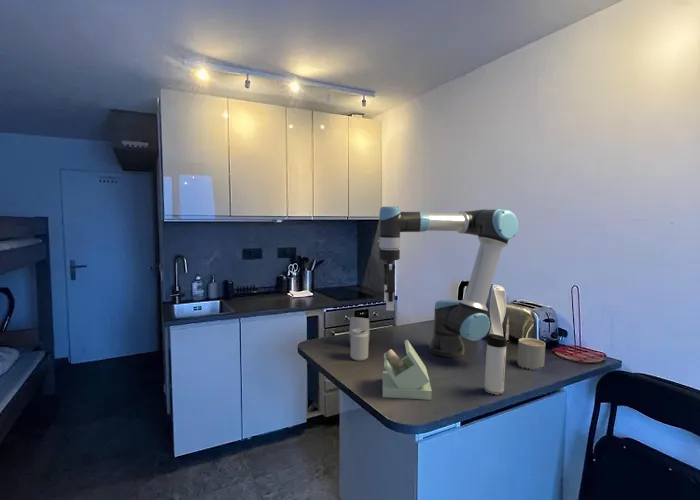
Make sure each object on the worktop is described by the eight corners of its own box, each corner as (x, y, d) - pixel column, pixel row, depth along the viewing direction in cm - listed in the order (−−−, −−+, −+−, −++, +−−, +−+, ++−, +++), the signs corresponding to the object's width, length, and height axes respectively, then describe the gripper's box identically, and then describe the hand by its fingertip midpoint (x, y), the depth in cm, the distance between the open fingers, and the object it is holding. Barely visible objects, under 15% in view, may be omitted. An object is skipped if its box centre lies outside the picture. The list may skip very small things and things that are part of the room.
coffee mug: (535, 372, 154) (536, 347, 153) (512, 364, 162) (513, 340, 161) (553, 365, 161) (555, 341, 160) (530, 358, 170) (532, 335, 169)
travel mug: (480, 387, 140) (483, 332, 138) (498, 387, 140) (501, 332, 138) (488, 395, 133) (491, 338, 131) (506, 395, 134) (510, 337, 132)
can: (366, 362, 161) (367, 333, 160) (348, 360, 162) (349, 332, 161) (369, 355, 168) (370, 328, 167) (352, 354, 170) (352, 326, 169)
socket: (426, 381, 143) (428, 339, 142) (431, 399, 130) (433, 353, 128) (382, 379, 145) (383, 337, 143) (382, 397, 131) (383, 351, 129)
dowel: (415, 373, 138) (391, 348, 138) (415, 376, 135) (391, 350, 135) (408, 378, 138) (384, 353, 139) (408, 382, 135) (384, 357, 135)
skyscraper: (497, 345, 186) (500, 286, 184) (483, 340, 193) (487, 283, 191) (509, 342, 190) (512, 285, 188) (495, 337, 198) (499, 282, 195)
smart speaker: (371, 343, 185) (371, 313, 183) (367, 349, 176) (367, 318, 174) (351, 341, 187) (352, 312, 186) (346, 347, 178) (347, 317, 177)
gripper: (377, 245, 157) (377, 298, 159) (380, 252, 132) (380, 314, 135) (396, 245, 157) (396, 298, 159) (403, 252, 132) (402, 314, 134)
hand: (388, 305), depth 147 cm, fingers open, 13 cm apart
